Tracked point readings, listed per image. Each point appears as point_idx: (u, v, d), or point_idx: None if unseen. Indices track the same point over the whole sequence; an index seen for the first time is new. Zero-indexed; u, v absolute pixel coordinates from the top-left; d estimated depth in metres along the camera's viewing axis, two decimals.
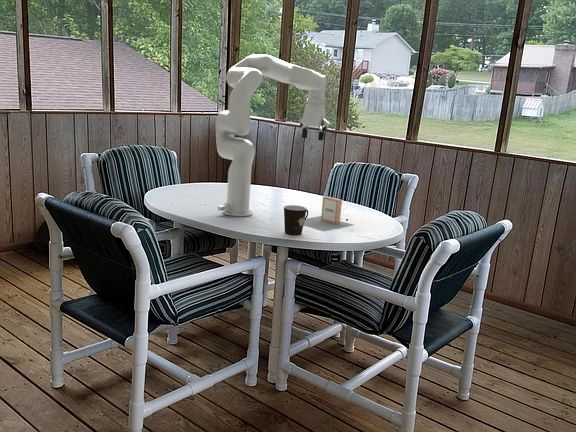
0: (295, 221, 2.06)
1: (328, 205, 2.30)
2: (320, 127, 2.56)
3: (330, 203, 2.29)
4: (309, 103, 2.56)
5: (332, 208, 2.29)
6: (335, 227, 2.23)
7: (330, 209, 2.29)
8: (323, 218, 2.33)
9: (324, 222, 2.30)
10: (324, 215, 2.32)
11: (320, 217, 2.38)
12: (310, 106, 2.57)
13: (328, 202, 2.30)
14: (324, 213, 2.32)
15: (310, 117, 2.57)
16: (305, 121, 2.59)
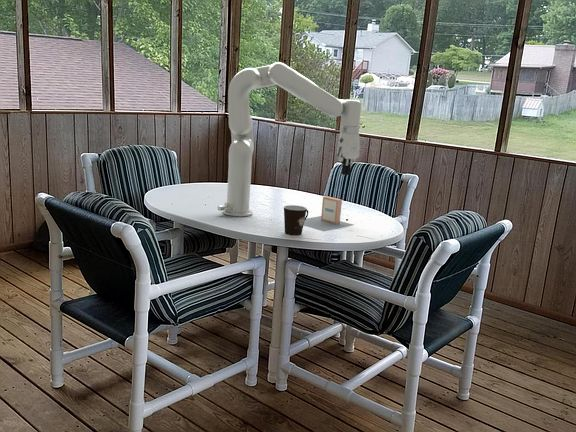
0: (295, 221, 2.06)
1: (328, 205, 2.30)
2: (352, 160, 2.32)
3: (330, 203, 2.29)
4: (355, 133, 2.26)
5: (332, 208, 2.29)
6: (335, 227, 2.23)
7: (330, 209, 2.29)
8: (323, 218, 2.33)
9: (324, 222, 2.30)
10: (324, 215, 2.32)
11: (320, 217, 2.38)
12: (353, 136, 2.27)
13: (328, 202, 2.30)
14: (324, 213, 2.32)
15: (353, 148, 2.28)
16: (348, 153, 2.27)
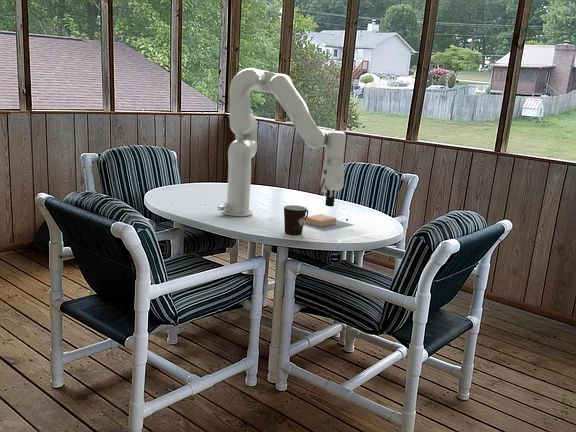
0: (295, 221, 2.06)
1: None
2: (336, 192, 2.29)
3: None
4: (339, 165, 2.23)
5: None
6: (335, 227, 2.23)
7: None
8: None
9: None
10: None
11: None
12: (337, 168, 2.24)
13: None
14: None
15: (337, 179, 2.25)
16: (332, 185, 2.24)
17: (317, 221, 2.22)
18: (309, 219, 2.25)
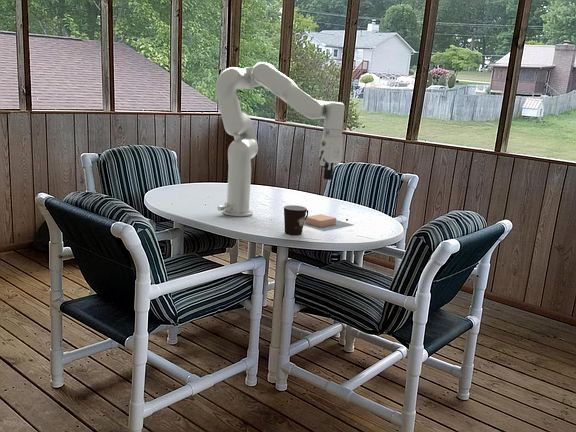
0: (295, 221, 2.06)
1: None
2: (334, 165, 2.24)
3: None
4: (338, 136, 2.18)
5: None
6: (335, 227, 2.23)
7: None
8: None
9: None
10: None
11: None
12: (335, 140, 2.19)
13: None
14: None
15: (335, 152, 2.21)
16: (330, 158, 2.19)
17: (317, 221, 2.22)
18: (309, 219, 2.25)
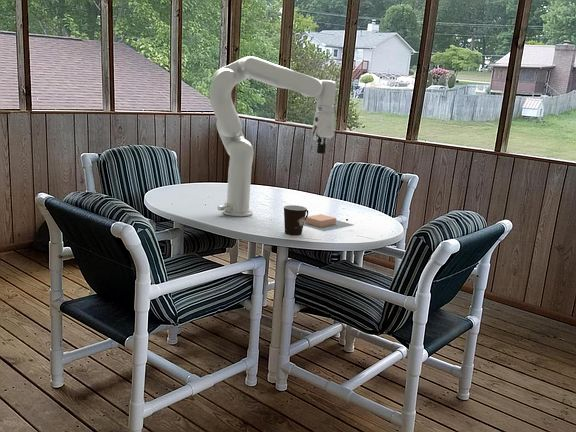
0: (295, 221, 2.06)
1: None
2: (327, 139, 2.40)
3: None
4: (330, 112, 2.34)
5: None
6: (335, 227, 2.23)
7: None
8: None
9: None
10: None
11: None
12: (328, 115, 2.34)
13: None
14: None
15: (328, 127, 2.36)
16: (323, 132, 2.34)
17: (317, 221, 2.22)
18: (309, 219, 2.25)
